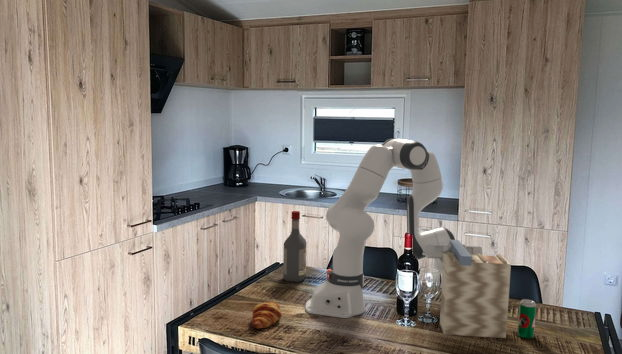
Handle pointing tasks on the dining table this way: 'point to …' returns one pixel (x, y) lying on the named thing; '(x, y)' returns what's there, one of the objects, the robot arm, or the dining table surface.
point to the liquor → (294, 253)
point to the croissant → (266, 314)
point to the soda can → (526, 319)
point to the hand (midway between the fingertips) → (456, 246)
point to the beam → (460, 253)
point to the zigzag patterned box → (475, 296)
